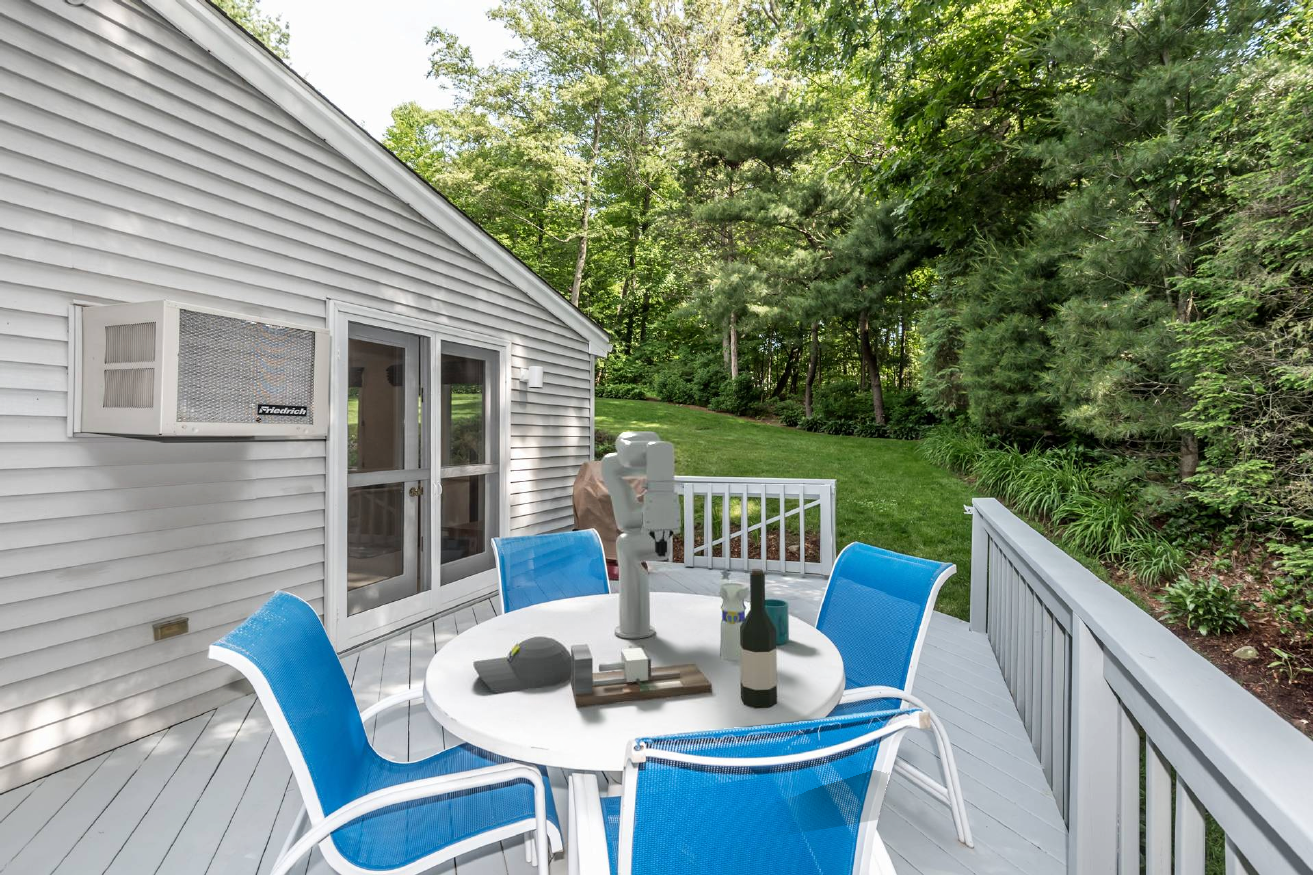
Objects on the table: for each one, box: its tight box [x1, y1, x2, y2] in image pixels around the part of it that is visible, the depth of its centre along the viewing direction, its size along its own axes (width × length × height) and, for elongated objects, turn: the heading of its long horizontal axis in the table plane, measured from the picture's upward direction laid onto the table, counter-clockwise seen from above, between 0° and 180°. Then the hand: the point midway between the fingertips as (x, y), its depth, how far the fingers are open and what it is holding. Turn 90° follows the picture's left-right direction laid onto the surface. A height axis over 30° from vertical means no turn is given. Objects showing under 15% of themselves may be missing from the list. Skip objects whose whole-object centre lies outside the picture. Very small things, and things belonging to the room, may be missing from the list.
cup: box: [765, 598, 790, 646], centre depth 179 cm, size 9×12×11 cm
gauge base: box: [570, 643, 713, 708], centre depth 147 cm, size 14×32×10 cm, turn 103°
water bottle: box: [718, 567, 750, 661], centre depth 168 cm, size 8×9×25 cm
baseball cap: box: [473, 636, 571, 695], centre depth 155 cm, size 19×26×12 cm
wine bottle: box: [739, 568, 778, 709], centre depth 139 cm, size 8×8×30 cm
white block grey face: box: [598, 647, 652, 685], centre depth 145 cm, size 10×12×5 cm
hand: (661, 555), depth 162 cm, fingers closed
